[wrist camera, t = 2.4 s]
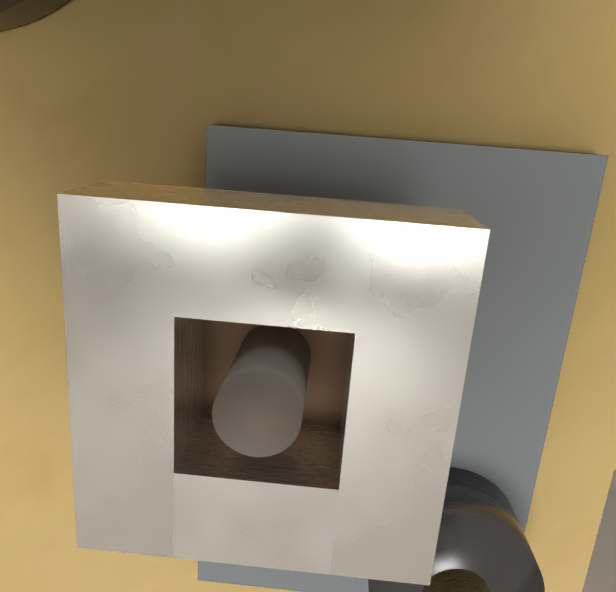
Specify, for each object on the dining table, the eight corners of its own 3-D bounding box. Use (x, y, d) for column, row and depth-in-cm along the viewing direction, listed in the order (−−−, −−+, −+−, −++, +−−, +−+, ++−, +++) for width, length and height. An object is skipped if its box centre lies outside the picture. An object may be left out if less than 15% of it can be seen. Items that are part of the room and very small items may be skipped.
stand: (213, 204, 21) (110, 265, 12) (387, 218, 20) (420, 292, 11) (209, 364, 23) (118, 523, 13) (368, 379, 22) (385, 551, 13)
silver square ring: (113, 180, 15) (57, 193, 12) (460, 209, 14) (489, 229, 11) (121, 477, 17) (77, 547, 14) (415, 507, 17) (429, 585, 14)
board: (213, 125, 21) (206, 124, 20) (595, 154, 20) (608, 155, 19) (202, 563, 27) (197, 579, 26) (500, 596, 26) (506, 613, 25)
